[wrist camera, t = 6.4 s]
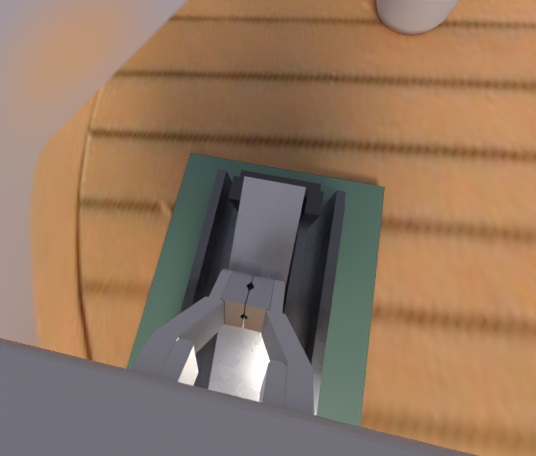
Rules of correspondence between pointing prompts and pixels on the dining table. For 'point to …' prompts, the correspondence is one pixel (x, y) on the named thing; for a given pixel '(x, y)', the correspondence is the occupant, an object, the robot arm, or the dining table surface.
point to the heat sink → (300, 272)
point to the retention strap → (257, 264)
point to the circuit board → (345, 288)
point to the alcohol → (413, 14)
